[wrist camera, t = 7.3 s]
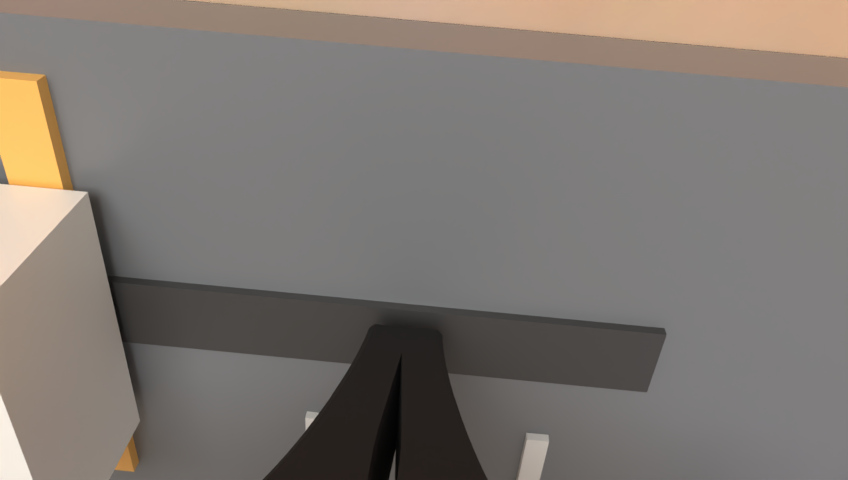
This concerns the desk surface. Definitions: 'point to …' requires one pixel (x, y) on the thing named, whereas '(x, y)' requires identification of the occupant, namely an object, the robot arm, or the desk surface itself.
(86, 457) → the fader tab
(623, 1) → the desk surface
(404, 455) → the robot arm
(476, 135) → the board
